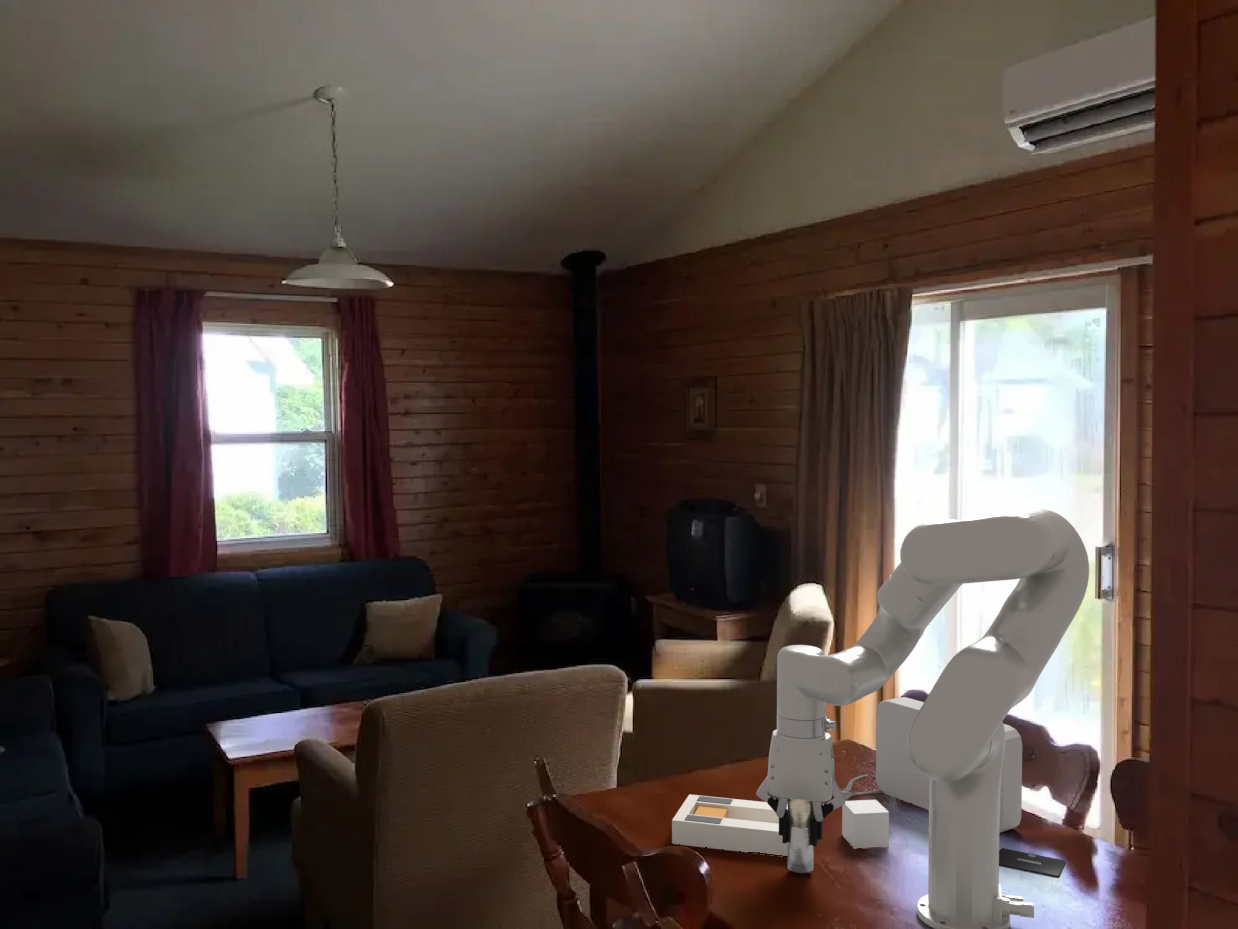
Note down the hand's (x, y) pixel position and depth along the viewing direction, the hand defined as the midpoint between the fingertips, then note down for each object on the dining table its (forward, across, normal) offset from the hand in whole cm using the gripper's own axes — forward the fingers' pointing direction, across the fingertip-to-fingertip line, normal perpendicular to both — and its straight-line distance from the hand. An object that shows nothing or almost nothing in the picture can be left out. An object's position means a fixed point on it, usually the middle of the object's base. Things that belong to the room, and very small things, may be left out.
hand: (800, 840), depth 164 cm
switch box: (+5, +11, -12) cm, 17 cm away
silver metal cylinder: (+4, 0, 0) cm, 4 cm away
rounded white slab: (+5, -22, -35) cm, 42 cm away
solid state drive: (+6, -35, -14) cm, 38 cm away
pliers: (+6, -7, -40) cm, 41 cm away
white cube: (+5, -9, -16) cm, 19 cm away
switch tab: (+4, +17, -12) cm, 21 cm away
